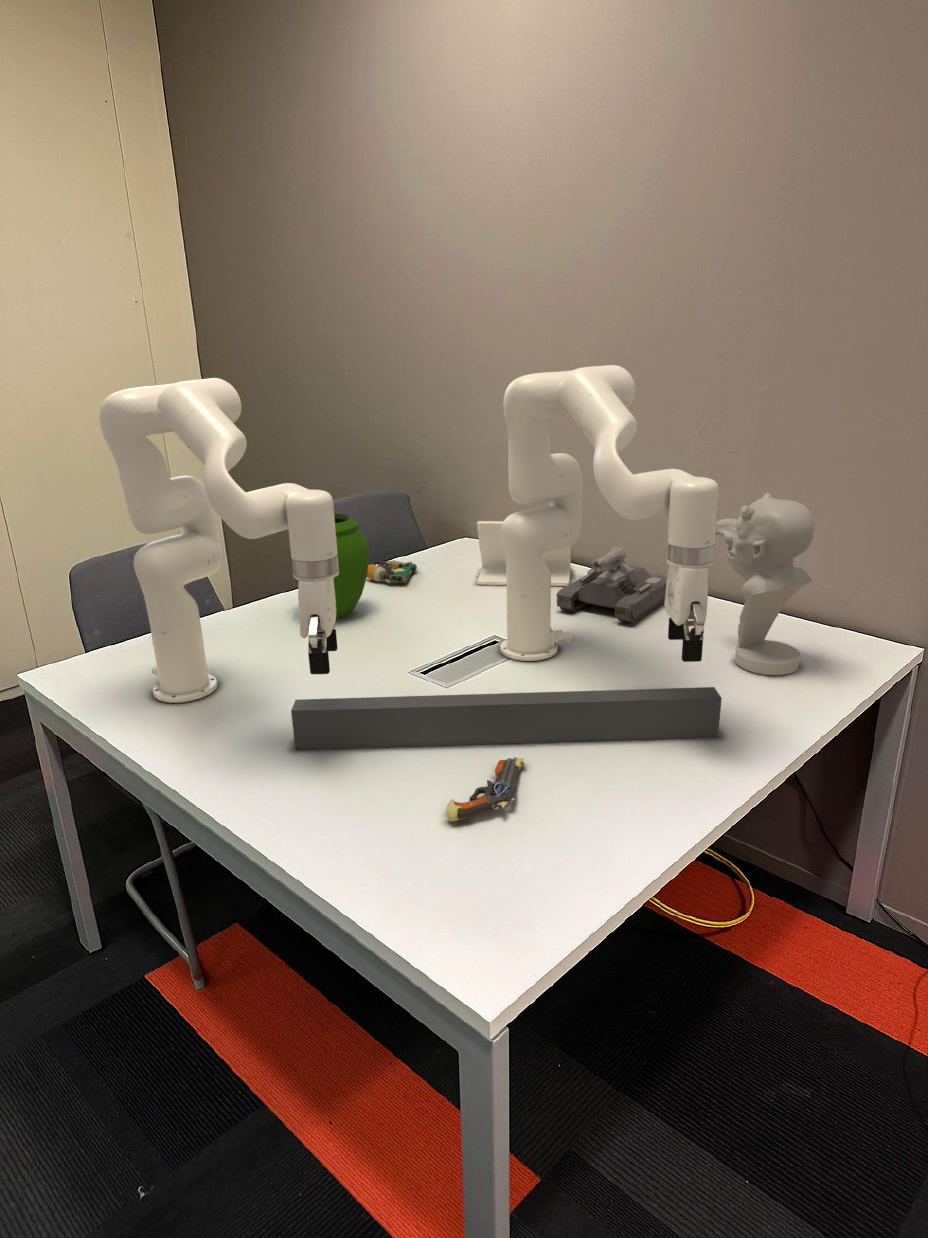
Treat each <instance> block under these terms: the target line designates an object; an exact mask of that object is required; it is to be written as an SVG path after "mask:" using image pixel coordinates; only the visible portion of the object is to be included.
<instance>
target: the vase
mask: <svg viewBox="0 0 928 1238" xmlns="http://www.w3.org/2000/svg"><path fill="white" fill-rule="evenodd" d="M334 517H335V529H336V541H337V554H338V565H339V575H338V576H336V577H334V589H335V600H336V619H341V618H345V617H347V616H349V615H350V614H351V613H352V612H353V611H354V610H355V608H356V607H357V605H358V604H359V601H360V599H361V597H362V595H363V592H364V588H365V586H366V581H367V579H368V578H367V573H368V565H369V561H370V560H369V559H370V548H369V545H368V541H367V537H366V535H365V534H364V533H363V532H362V531H361V530H360V529H359V527H358V524H359V523H358V521H356V520H355V519H353V518H352V517H350V516H349V515H347V514H344V513H334ZM288 559H289V564H290V566H291V567H290V568H291V570H292V572H293V568H292V559H291V550H290V549H289V551H288ZM294 581H295V584H296V586H298V583H299V580H296V579H295V578H294Z"/></svg>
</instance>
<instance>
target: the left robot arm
mask: <svg viewBox="0 0 928 1238" xmlns="http://www.w3.org/2000/svg"><path fill="white" fill-rule="evenodd" d="M241 414H242V401H241V397H240V395H239V393H238V391H237V389H235V387H234V386H233V385H232V384H230V383H229V382H228V381H227V380H224V379H222V378H218V377H211V378H202V379H200V378H199V379H192V380H182V381H178V382H174V383H167V384H159V385H147V386H138V387H137V386H136V387H131V388H125V389H122V390H121V389H120V390H118V391H116V392H113V393H111V394H110V395H108V396H107V397H106V398H105V399H104V400H103V402H102V404H101V406H100V410H99V424H100V429H101V434H102V436H103V438H104V441H105V443H106V445H107V447H108V448H109V451H110V452H111V455H112V456H113V459H114V462H115V464H116V467H117V470H118V475H119V479H120V483H121V487H122V492H123V495H124V499H125V502H126V506H127V511H128V514H129V518H130V520H131V523H132V525H133V527H134V528H135V529H136V530H137V531H138V532H139V533H142V534H145V535H151V534H152V535H153V534H158V533H163V532H167V531H171V530H174V529H178V528H182V529H183V532H182V533H181V534H176V535H171V536H168V537H163V538H160V539H157V540H154V541H151V542H148V543H146V544H144V545H143V546H141V547H140V548H139V549H138V550H137V552H136V553H135V554H134V557H133V569H134V572H135V576H136V578H137V581H138V584H139V586H140V588H141V591H142V595H143V599H144V603H145V607H146V613H147V617H148V618H147V619H148V623H149V629H150V634H151V641H152V646H153V652H154V657H155V658H154V659H155V665H156V667H153V668H151V670H150V671H151V674H152V675H155V676H156V677H157V678H156V679H157V682H156V683H155V685H153V686H152V687H153V688H152V695H153V697H154V699H156V700H158V701H161V702H164V703H171V704H172V703H174V704H176V703H178V704H179V703H187V702H188V703H189V702H192V701H196V700H199V699H202V698H205V697H207V696H209V695H211V694H212V693H214V692H215V690H216V689H217V688H218V679H217V677H216V676H215V675H214V674H210V673H209V671H208V665H207V657H206V651H205V644H204V637H203V631H202V623H201V617H200V610H199V606H198V603H197V601H196V599H195V598H194V597H193V596H192V595H191V594H190V593H189V592H188V591H187V589H186V588H185V585H187V584H190V583H191V582H192V583H193V582H194V581H197V580H201V579H204V578H207V577H209V576H212V575H214V574H216V573H218V572H219V571H221V569H222V566H223V564H224V559H225V558H224V547H223V542H222V537H221V534H220V528H219V524H218V519H217V515H218V516H219V518H221V520H222V521H223V522H224V523H225V524H226V525H227V526H228V527H229V528H230V529H231V530H232V531H233V532H234V533H236V534H237V535H238V536H241V537H242V538H243V539H244V538H245V539H247V540H248V539H249V540H256V539H261V538H264V537H266V536H271V535H272V534H273V535H274V534H276V533H280V532H284V531H285V532H286V531H288V537H289V551H290V550H291V559H292V567H291V569H292V568H293V571H292V577H293V579H294V580H295V579H296V580H299V583H298V585H297V587H298V592H297V594H298V595H297V596H298V599H297V600H298V615H299V632H300V634H299V635H300V637H301V638H302V639H305V638H308V645H307V646H308V647H307V651H308V652H307V654H308V664H309V673H310V675H329V674H330V672H331V668H330V655H329V652H337V651H338V637H337V629H336V620H337V618H336V600H335V589H334V577H336V576H338V575H339V565H338V554H337V541H336V529H335V517H334V514H335V508H334V507H335V505H334V500H333V497H332V495H331V493H329V492H328V491H327V490H322V489H309V488H306V487H304V486H302V485H299V484H297V483H294V482H293V483H292V482H285V483H280V484H276V485H272V486H267V487H263V488H259V489H255V490H251V491H247V492H246V491H245V490H244V489H243V488H242V487H241V486H240V485H239V484H238V483H237V482H236V481H235V480H234V479H233V477H232V476H231V475H230V473H229V472H230V471H231V470H232V469H233V468H234V467H235V466H237V464H238V463H239V462H240V461H241V459H242V458H243V456H244V454H245V453H246V450H247V443H248V441H247V438H246V436H245V434H244V432H242V431H241V430H240V429H239V428H238V427H237V425H236V424H235V423H236V422H237V421H238V420H239V419H240V416H241ZM172 432H173V433H174V434H175V435H176V436H177V437H178V438H179V439H180V441H181V442H182V443H183V444H184V445H185V446H186V447H187V449H188V450H190V451H191V453H192V454H193V455H194V456H195V457H196V458H197V459H198V460H199V461H200V462H201V463H202V465H203V466H204V469H203V481H201V480H200V479H198V478H197V477H195V476H192V475H180V476H175V477H174V476H173V477H170V475H169V471H168V469H167V468H168V467H167V464H166V460H165V457H164V455H163V453H162V452H161V450H160V449H159V448H158V447H157V445H156V444H155V443H154V442H153V441H152V440H150V439H149V438H148V436H151V435H158V434H166V433H172ZM216 514H217V515H216Z"/></svg>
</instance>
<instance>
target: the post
mask: <svg viewBox="0 0 928 1238" xmlns="http://www.w3.org/2000/svg"><path fill="white" fill-rule="evenodd" d="M722 700H723V699H722V696H721V695H720V693H719V692H718V690H717V689H716V687H715V686H707V687H706V686H705V687H704V686H703V687H670V688H668V687H667V688H641V689H640V688H639V689H607V690H573V691H572V690H571V691H568V690H567V691H541V692H539V691H537V692H505V693H504V692H503V693H473V694H471V693H469V694H439V695H438V694H437V695H435V694H434V695H412V696H411V695H409V696H408V695H407V696H405V695H404V696H374V697H369V696H367V697H339V698H335V697H334V698H307V699H306V698H305V699H303V698H302V699H295V700H294V703H293V705H292V707H291V710H290V712H291V713H290V714H291V723H292V731H293V741H294V750H295V751H302V750H305V751H307V750H335V749H336V750H337V749H340V750H341V749H367V748H368V749H370V748H371V749H372V748H397V747H399V748H403V747H404V748H405V747H407V748H408V747H434V746H435V747H437V746H440V747H441V746H467V745H469V746H470V745H471V746H473V745H502V744H503V745H504V744H505V745H506V744H536V743H537V744H538V743H539V744H540V743H569V742H570V743H571V742H573V743H574V742H575V743H576V742H602V741H635V740H636V741H637V740H639V741H640V740H670V739H672V740H673V739H702V738H703V739H705V738H719V733H720V721H721V711H722Z"/></svg>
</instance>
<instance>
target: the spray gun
mask: <svg viewBox="0 0 928 1238" xmlns="http://www.w3.org/2000/svg"><path fill="white" fill-rule="evenodd" d="M417 569H418V566H417V564H416V563H413V561H410V562H409V561H407V562H403V561H398V560H386V561H385V560H382V561H381V560H379V561H378V562H377V564H373V563H370V564H368V573H367V578H366V579H369V580H371V581H375V582H378V583H379V582H381V583H382V582H384V581H389V582H390V583H402V584H405V583H407V582H408V580H409V579H410V577H411V575H412V573H415V572H416V571H417Z"/></svg>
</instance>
